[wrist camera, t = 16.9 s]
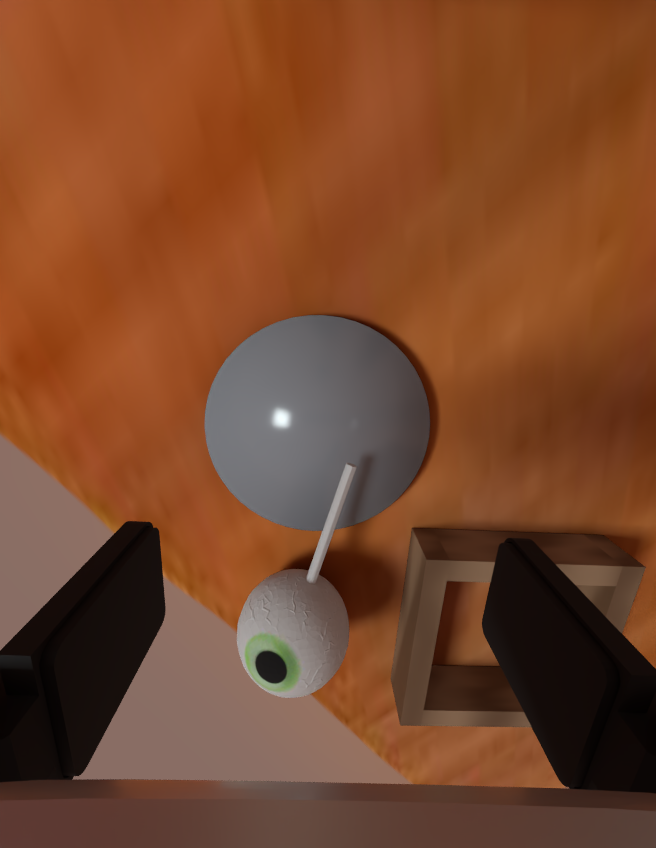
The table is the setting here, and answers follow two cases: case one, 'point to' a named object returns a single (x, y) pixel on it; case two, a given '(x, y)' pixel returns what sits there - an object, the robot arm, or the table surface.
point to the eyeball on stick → (297, 621)
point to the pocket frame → (474, 562)
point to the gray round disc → (316, 421)
